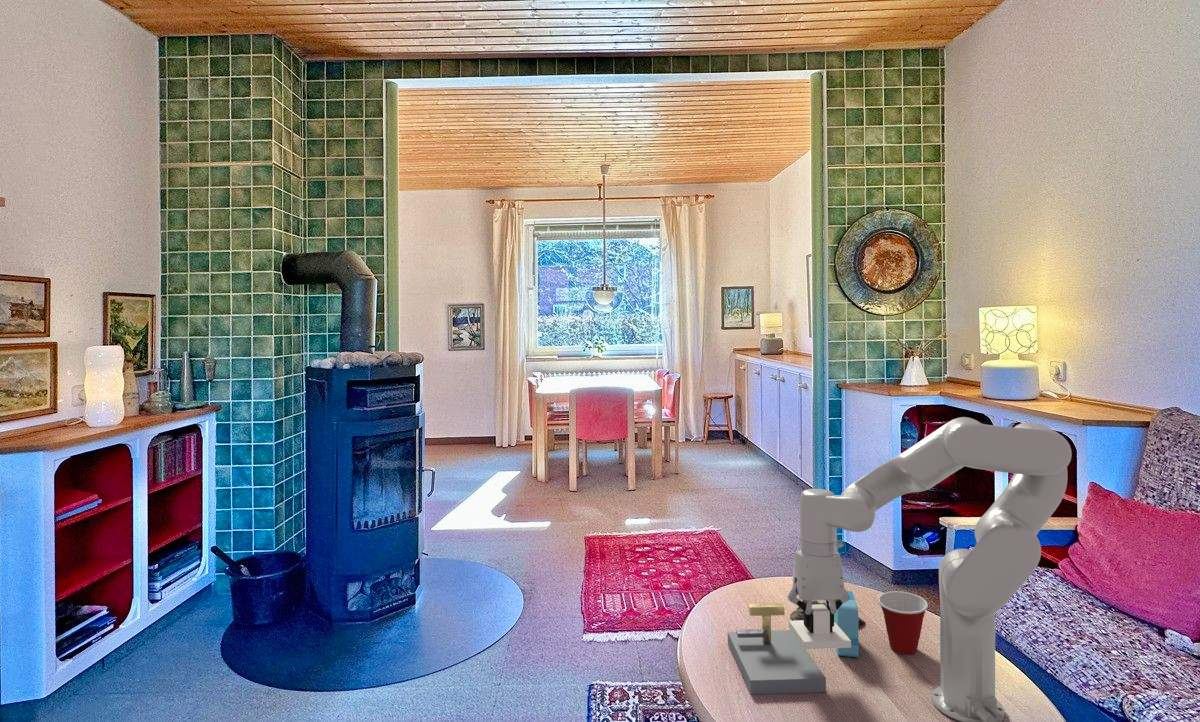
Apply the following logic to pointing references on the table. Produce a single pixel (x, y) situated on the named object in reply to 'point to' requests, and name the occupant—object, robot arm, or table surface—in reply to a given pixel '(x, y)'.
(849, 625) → the data package
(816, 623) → the lid
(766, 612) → the tan t-shaped piece
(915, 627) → the plastic cup
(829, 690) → the table surface
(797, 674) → the plate
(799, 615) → the geode
